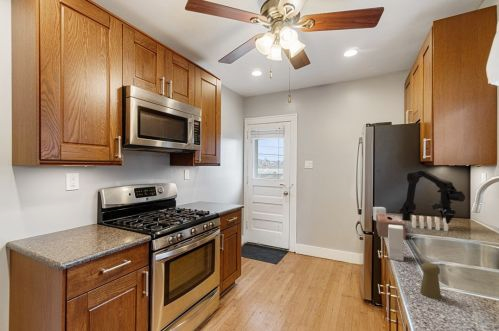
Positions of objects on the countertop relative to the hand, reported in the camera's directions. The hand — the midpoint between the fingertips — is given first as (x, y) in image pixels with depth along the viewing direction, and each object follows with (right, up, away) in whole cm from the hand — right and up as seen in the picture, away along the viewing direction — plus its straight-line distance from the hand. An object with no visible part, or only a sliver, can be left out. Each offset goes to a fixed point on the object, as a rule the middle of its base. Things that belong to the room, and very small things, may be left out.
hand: (445, 222), depth 164 cm
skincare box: (-62, -7, -45) cm, 77 cm away
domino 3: (-4, -6, +2) cm, 7 cm away
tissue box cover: (-40, -7, -3) cm, 41 cm away
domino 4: (0, -6, 0) cm, 6 cm away
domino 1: (-12, -6, +6) cm, 15 cm away
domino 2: (-8, -6, +4) cm, 11 cm away
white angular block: (-16, -6, +8) cm, 19 cm away
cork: (-70, -8, -78) cm, 106 cm away
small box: (-28, -6, +31) cm, 43 cm away
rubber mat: (-10, -6, +5) cm, 13 cm away
